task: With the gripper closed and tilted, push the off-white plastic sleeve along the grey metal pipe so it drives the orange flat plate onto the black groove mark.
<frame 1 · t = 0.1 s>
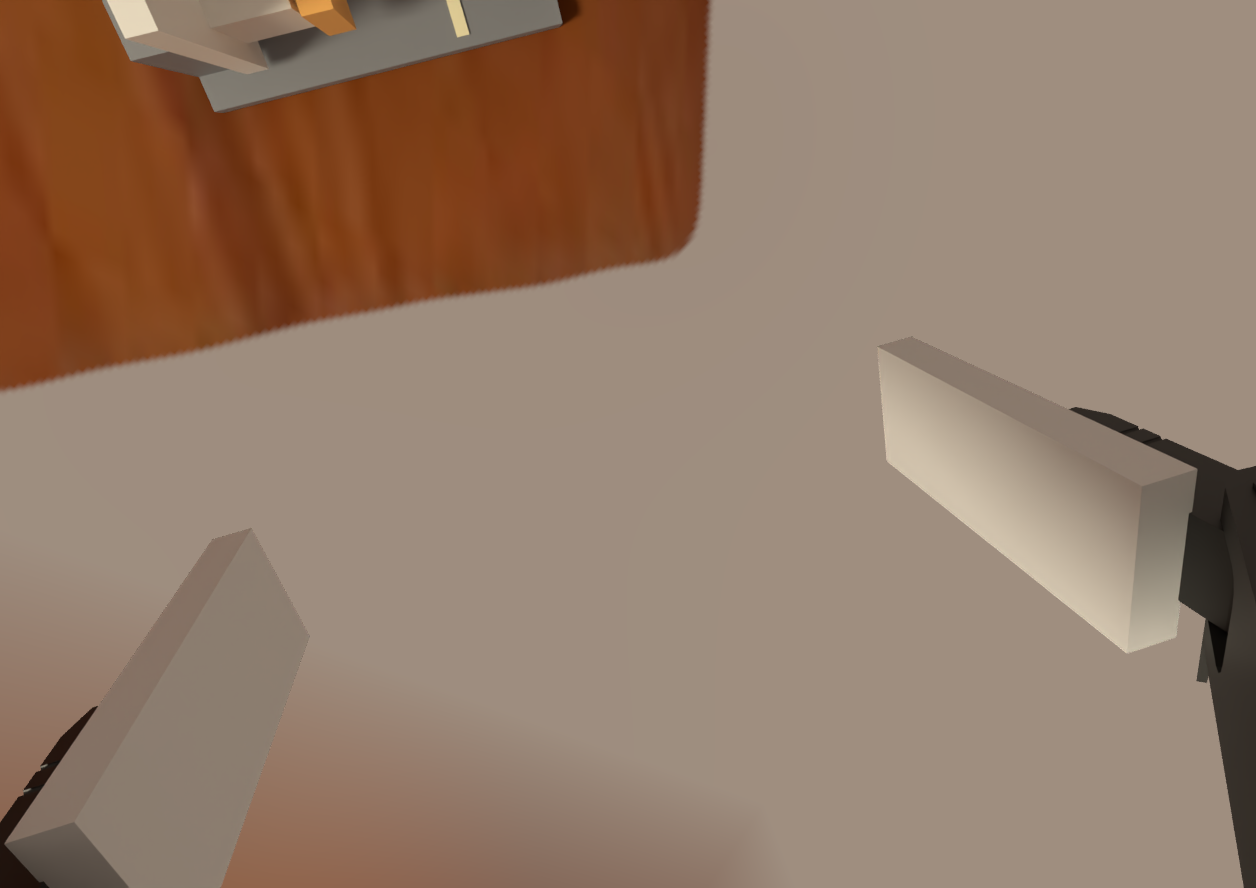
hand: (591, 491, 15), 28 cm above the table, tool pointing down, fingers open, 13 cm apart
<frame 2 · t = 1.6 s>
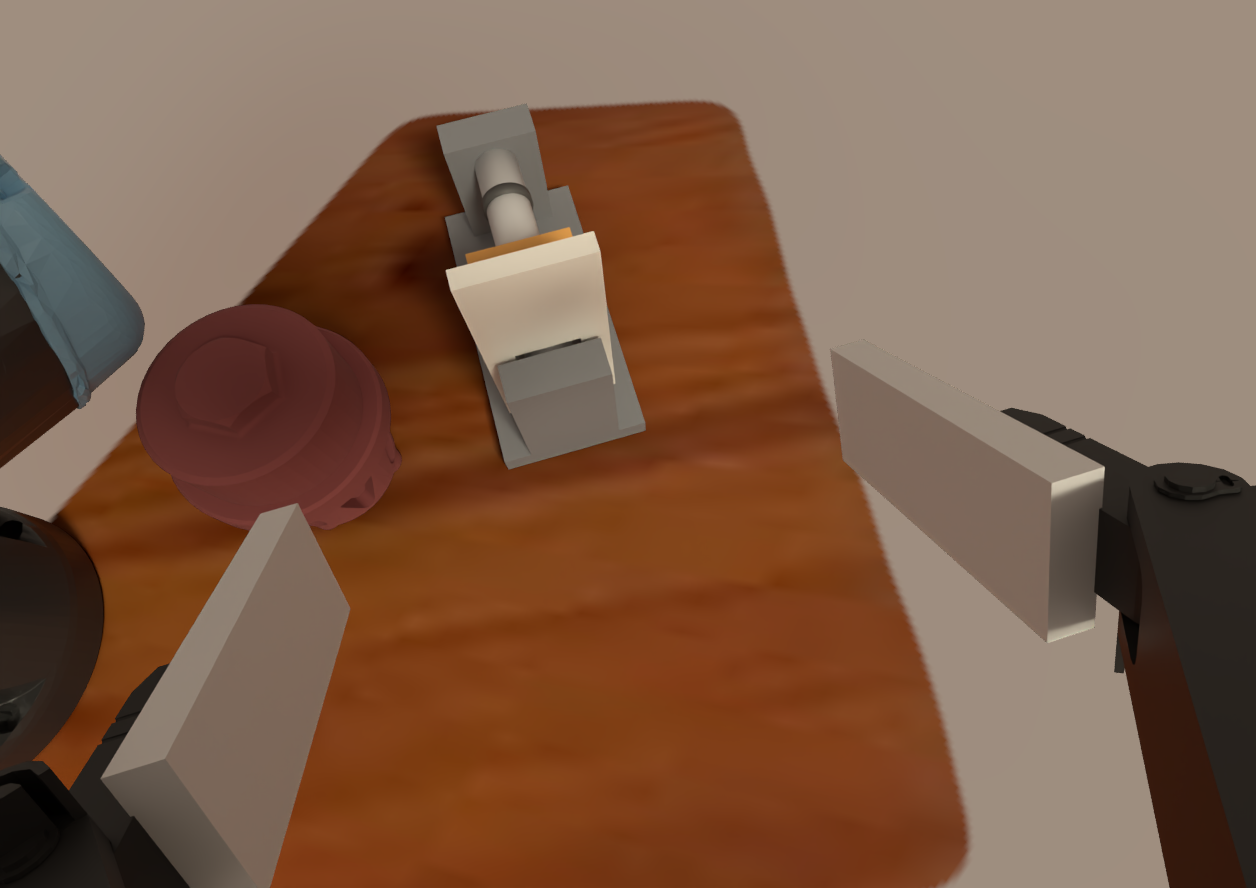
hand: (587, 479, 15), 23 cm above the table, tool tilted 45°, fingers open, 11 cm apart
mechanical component: (345, 474, 40), on the table
sleeve: (537, 310, 34), point 8 cm above the table, slide at 0.0 cm
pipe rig: (541, 323, 43), on the table
orange flat plate: (529, 280, 37), point 7 cm above the table, slide at 0.0 cm
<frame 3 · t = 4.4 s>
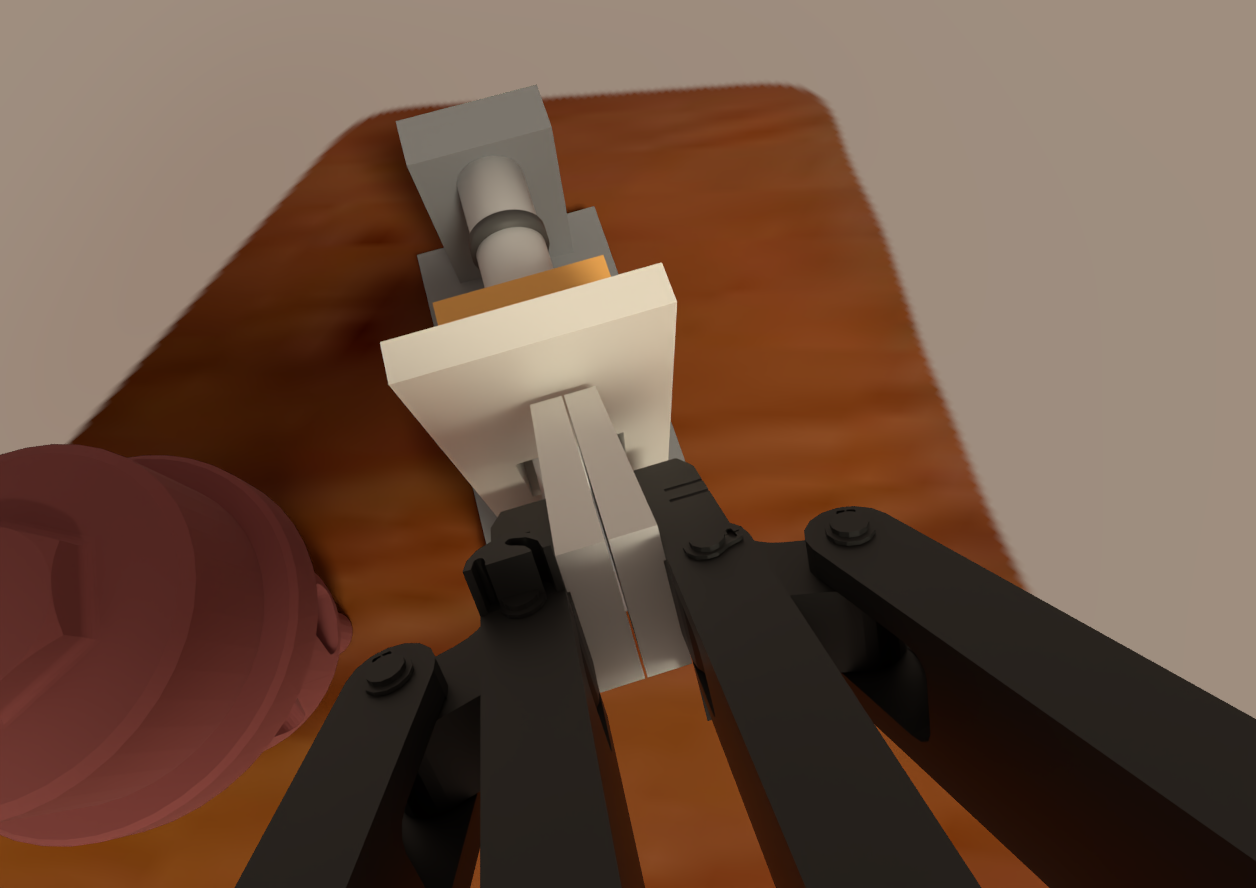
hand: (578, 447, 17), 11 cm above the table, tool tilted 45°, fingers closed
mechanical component: (268, 654, 27), on the table
sleeve: (550, 384, 21), point 8 cm above the table, slide at 1.4 cm, touching gripper, orange flat plate
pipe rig: (560, 411, 29), on the table
orange flat plate: (537, 338, 23), point 7 cm above the table, slide at 1.1 cm, touching sleeve
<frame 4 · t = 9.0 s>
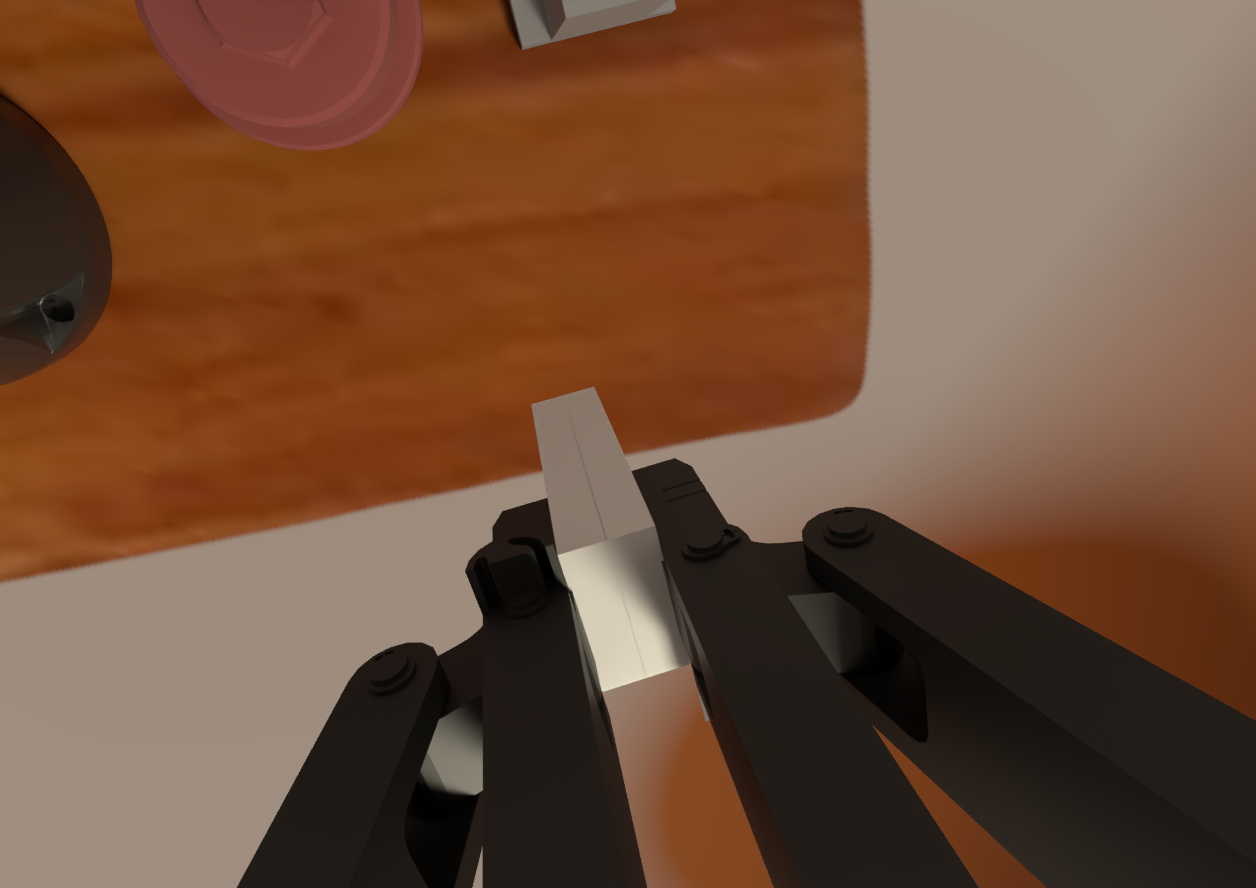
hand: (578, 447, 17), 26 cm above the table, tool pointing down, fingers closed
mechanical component: (329, 38, 35), on the table
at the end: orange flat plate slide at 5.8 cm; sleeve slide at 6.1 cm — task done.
